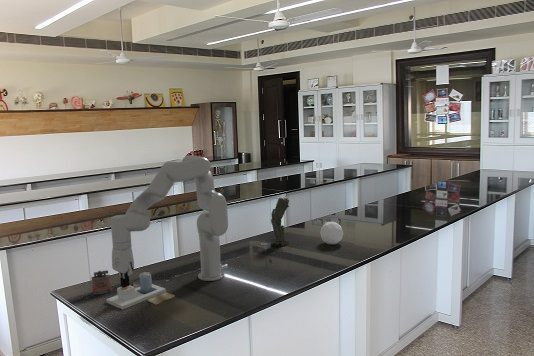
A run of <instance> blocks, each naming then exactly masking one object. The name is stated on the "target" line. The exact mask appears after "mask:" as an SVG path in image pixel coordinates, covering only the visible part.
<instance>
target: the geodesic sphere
mask: <svg viewBox="0 0 534 356" xmlns="http://www.w3.org/2000/svg"><path fill="white" fill-rule="evenodd" d="M323 223H324V224H323V225H322V226H321V229H320V233H319V234H320V237H321V240H322V241H323V242H324V243H325V244H327V245H337V244H338V243H339V242H341V240H342V239H343V237H344V231H343V229H342V226H341V225H340V224H339V223H337V222H336V221H333V220H331V221H324V222H323Z"/></svg>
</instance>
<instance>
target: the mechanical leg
mask: <svg viewBox="0 0 534 356" xmlns="http://www.w3.org/2000/svg"><path fill="white" fill-rule="evenodd" d="M289 202H290V200H289V199H288V198H283V197H279V198H278V199H277V201H276V206H275V208H273V209H272V211H271V214H270V215H271V218H270V223H271V225H272V229H273V233H274V236H275V239H274V241H273V242H272V243H271V244H270V247H272V248H280V247H283V246H287V245H289V244H290V241H289V240H287V239H285V225H283V224H282V219H283V217H284V215H285V213H286V211H287V209H288V208H289V207H290V206H289Z"/></svg>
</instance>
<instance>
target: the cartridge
mask: <svg viewBox="0 0 534 356" xmlns="http://www.w3.org/2000/svg"><path fill="white" fill-rule="evenodd" d="M138 277H139V287H140V290H141V292H140V293H142V294H144V295H145V294H147V293H150V292H152V284H153V283H152V282H153V281H152V272H150V271H144V272H141V273H139V276H138Z"/></svg>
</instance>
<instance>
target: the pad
mask: <svg viewBox="0 0 534 356" xmlns="http://www.w3.org/2000/svg"><path fill="white" fill-rule="evenodd" d="M175 297H176V295H175V294H172V293H169V292H167V291H166V292H165V293H162V294H160V295H157V296H155V297H152V298H150V299H148V300H146V301H147V302H149V303H151V304H153V305H156V306H157V305H159V304H161V303H163V302H165V301H167V300H168V301H169V300H171V299H174V298H175Z"/></svg>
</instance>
